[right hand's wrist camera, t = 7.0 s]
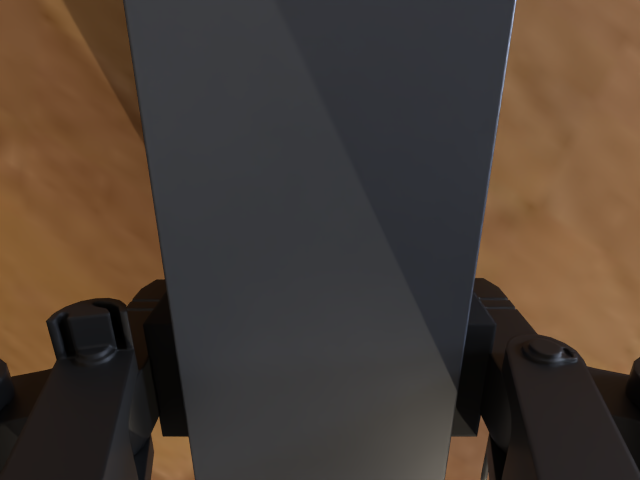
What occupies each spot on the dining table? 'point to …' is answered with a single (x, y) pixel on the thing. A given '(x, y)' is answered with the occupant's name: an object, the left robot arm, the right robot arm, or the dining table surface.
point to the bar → (319, 222)
